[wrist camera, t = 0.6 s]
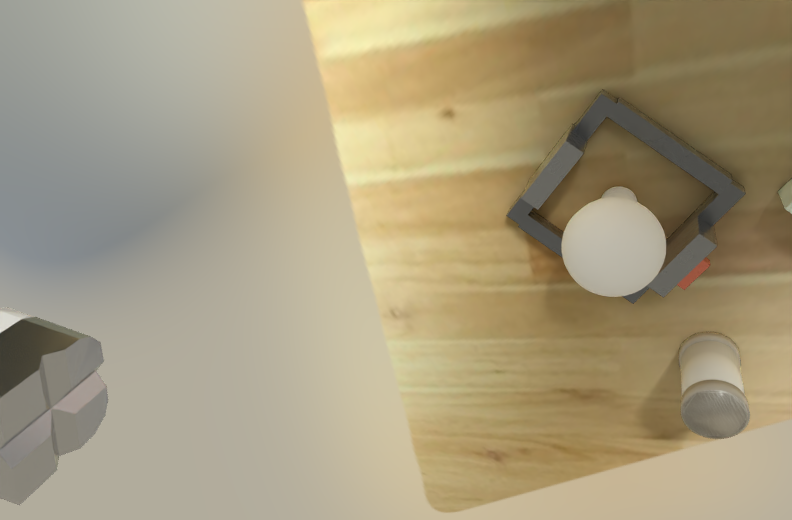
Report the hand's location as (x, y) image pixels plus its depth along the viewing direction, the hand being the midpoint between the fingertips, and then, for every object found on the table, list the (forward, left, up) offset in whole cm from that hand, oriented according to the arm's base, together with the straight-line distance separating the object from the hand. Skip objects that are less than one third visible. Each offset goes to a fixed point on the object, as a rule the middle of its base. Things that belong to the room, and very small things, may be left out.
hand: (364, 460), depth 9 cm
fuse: (+15, +22, -41) cm, 49 cm away
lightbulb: (+9, +9, -42) cm, 44 cm away
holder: (+9, +9, -41) cm, 43 cm away
